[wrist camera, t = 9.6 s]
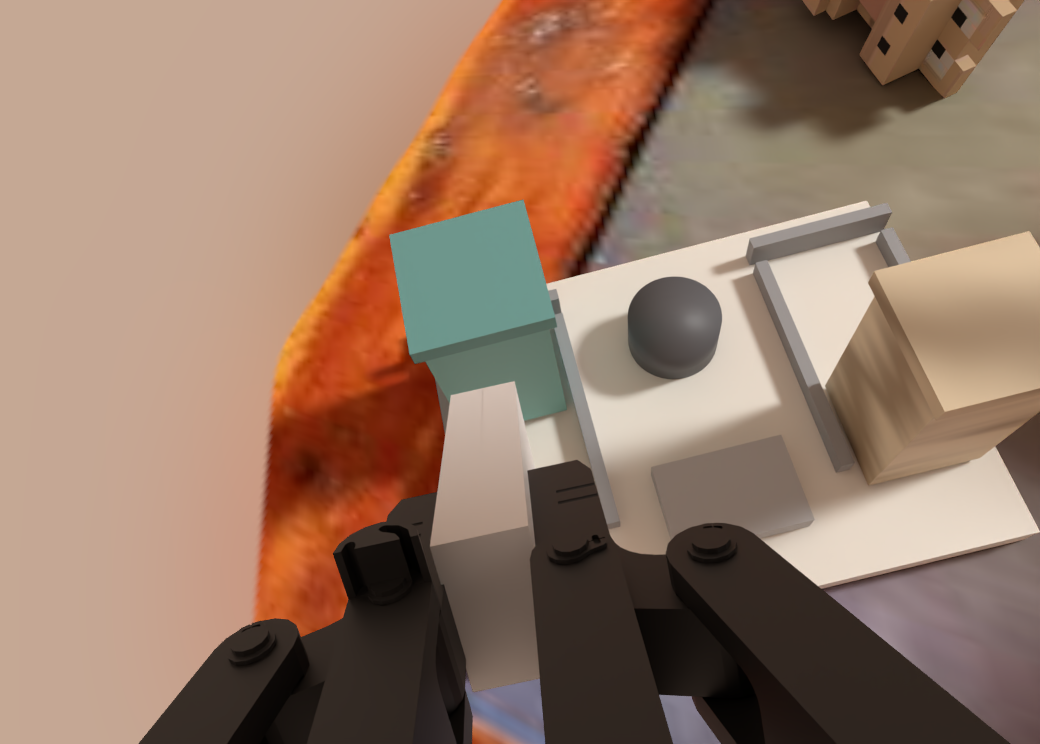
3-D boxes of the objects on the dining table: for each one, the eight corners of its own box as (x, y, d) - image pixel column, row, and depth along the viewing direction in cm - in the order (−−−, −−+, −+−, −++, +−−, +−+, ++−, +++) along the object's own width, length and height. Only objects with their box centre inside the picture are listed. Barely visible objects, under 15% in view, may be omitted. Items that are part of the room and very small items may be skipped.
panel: (433, 328, 42) (414, 292, 39) (859, 217, 42) (879, 171, 38) (496, 667, 35) (481, 661, 31) (1023, 539, 34) (1068, 518, 30)
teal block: (444, 343, 40) (389, 235, 31) (548, 316, 40) (523, 199, 31) (463, 442, 37) (409, 354, 29) (574, 413, 37) (555, 317, 28)
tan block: (816, 381, 36) (874, 271, 27) (933, 352, 36) (1029, 231, 27) (864, 493, 34) (944, 411, 25) (990, 462, 34) (1116, 369, 25)
